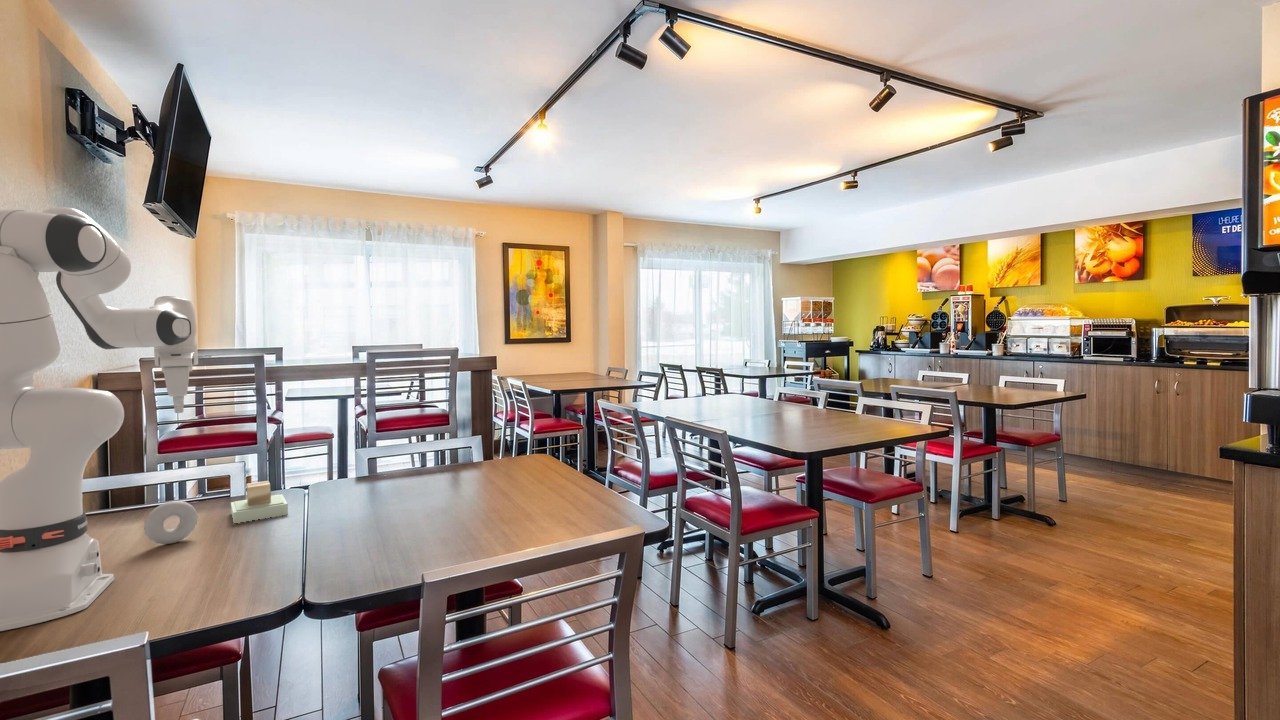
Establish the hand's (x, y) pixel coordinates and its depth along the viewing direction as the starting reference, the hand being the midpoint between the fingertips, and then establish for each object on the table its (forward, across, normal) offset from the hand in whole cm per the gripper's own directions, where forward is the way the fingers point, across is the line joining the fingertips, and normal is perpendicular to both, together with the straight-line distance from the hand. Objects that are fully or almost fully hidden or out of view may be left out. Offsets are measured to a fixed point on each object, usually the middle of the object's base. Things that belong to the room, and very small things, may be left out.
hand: (179, 411), depth 148 cm
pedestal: (+29, +8, +16) cm, 34 cm away
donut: (+29, +21, -2) cm, 36 cm away
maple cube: (+26, +8, +16) cm, 31 cm away
